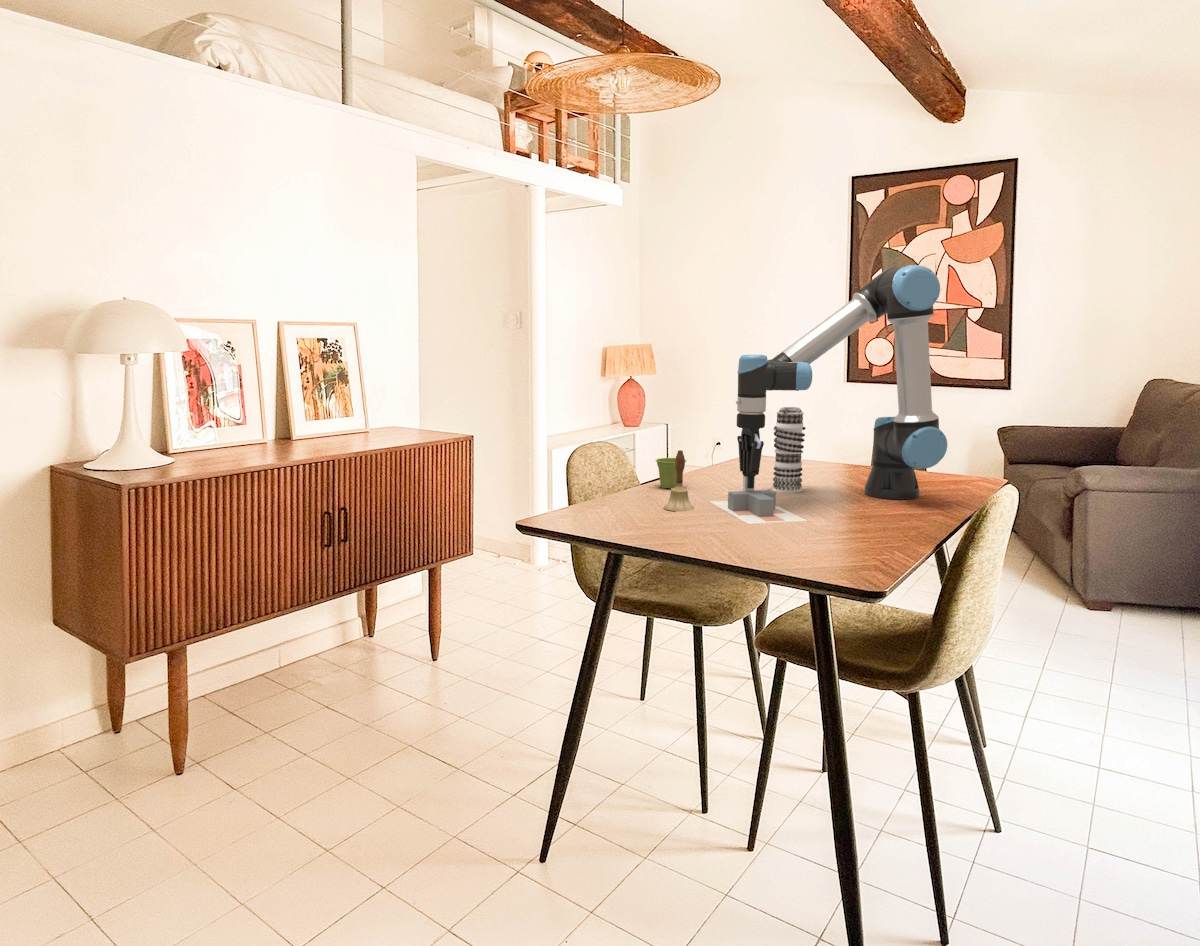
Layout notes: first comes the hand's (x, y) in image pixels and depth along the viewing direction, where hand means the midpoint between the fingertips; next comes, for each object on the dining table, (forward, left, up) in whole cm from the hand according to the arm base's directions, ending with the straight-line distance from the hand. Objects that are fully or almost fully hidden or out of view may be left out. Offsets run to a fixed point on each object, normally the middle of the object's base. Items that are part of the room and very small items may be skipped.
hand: (748, 499), depth 227 cm
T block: (0, +7, -2) cm, 7 cm away
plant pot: (+12, -33, -3) cm, 35 cm away
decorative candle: (-21, -21, -3) cm, 30 cm away
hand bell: (+19, -3, -3) cm, 19 cm away
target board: (0, +5, -2) cm, 6 cm away
